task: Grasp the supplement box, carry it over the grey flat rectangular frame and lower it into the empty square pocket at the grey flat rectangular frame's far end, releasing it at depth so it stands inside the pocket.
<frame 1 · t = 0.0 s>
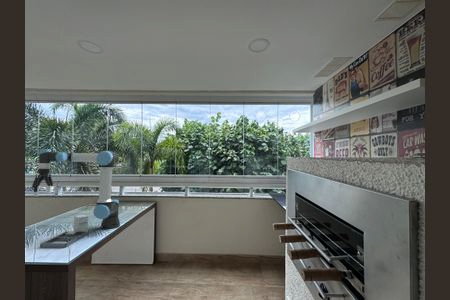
hand: (42, 195, 188), 28 cm above the table, fingers open, 13 cm apart
supplement box: (80, 232, 184), on the table
grey flat rectangular frame: (65, 240, 164), on the table
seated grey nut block: (71, 238, 171), resting in grey flat rectangular frame
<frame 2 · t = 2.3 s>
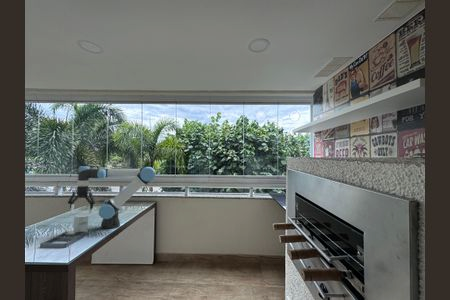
hand: (81, 212, 185), 15 cm above the table, fingers open, 13 cm apart
nothing on the table moved.
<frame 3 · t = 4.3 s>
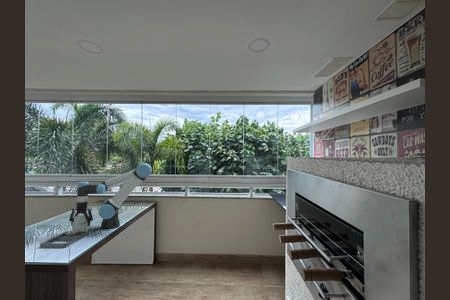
hand: (80, 230, 184), 2 cm above the table, fingers closed on supplement box, 10 cm apart
supplement box: (80, 232, 184), on the table, touching gripper
everything else where it was.
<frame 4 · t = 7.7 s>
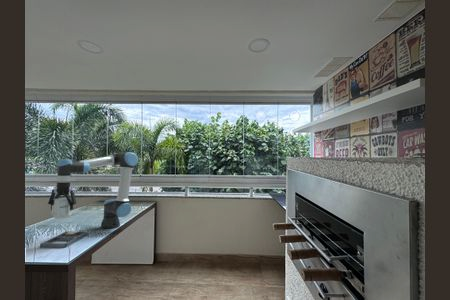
hand: (61, 214, 159), 19 cm above the table, fingers closed on supplement box, 10 cm apart
supplement box: (61, 217, 159), point 18 cm above the table, touching gripper
everything else where it was.
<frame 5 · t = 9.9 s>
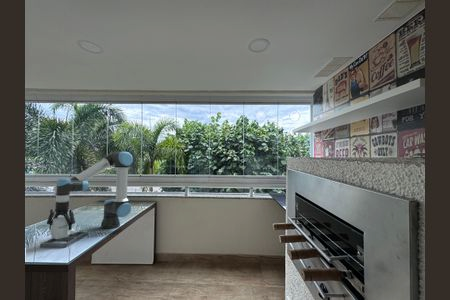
hand: (60, 234, 158), 6 cm above the table, fingers closed on supplement box, 10 cm apart
supplement box: (60, 237, 158), point 4 cm above the table, touching gripper
everything else where it was.
when the fingers open (4 cm above the table, at t = 11.5 s): supplement box drops 2 cm, resting in grey flat rectangular frame.
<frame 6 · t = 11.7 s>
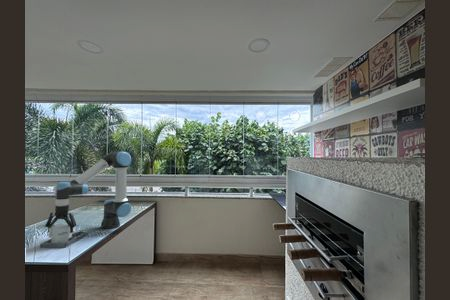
hand: (60, 237, 158), 4 cm above the table, fingers open, 12 cm apart
supplement box: (59, 244, 158), resting in grey flat rectangular frame
everything else where it was.
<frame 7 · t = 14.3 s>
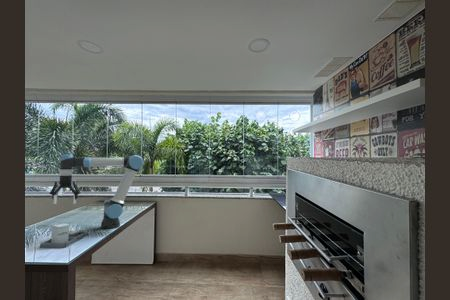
hand: (64, 203, 174), 24 cm above the table, fingers open, 13 cm apart
nothing on the table moved.
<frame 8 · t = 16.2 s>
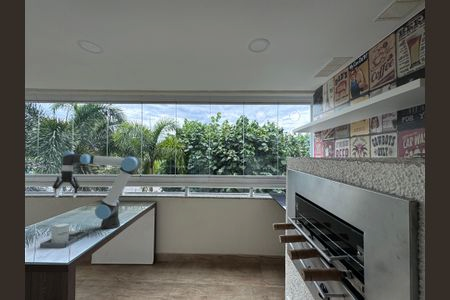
hand: (65, 197, 187), 27 cm above the table, fingers open, 13 cm apart
nothing on the table moved.
at the end: supplement box inside the target area on the grey flat rectangular frame (0.1 cm from its centre), point 0.0 cm above the grey flat rectangular frame's base; supplement box tilted 0°; the gripper is holding nothing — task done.
